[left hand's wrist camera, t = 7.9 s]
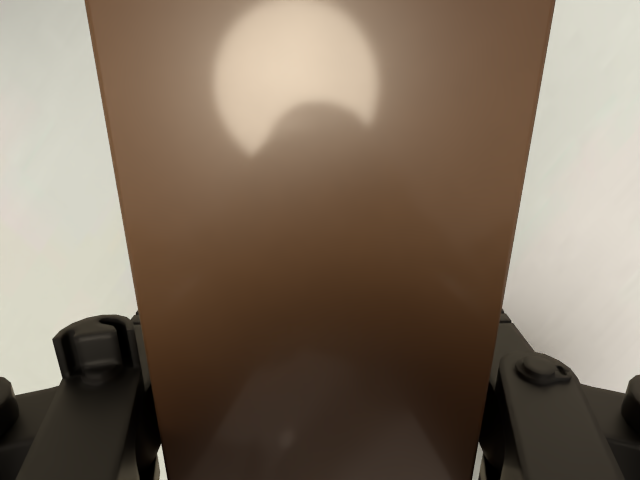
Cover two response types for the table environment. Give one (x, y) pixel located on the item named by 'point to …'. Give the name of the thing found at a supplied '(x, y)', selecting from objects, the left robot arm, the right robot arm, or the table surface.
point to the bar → (319, 222)
